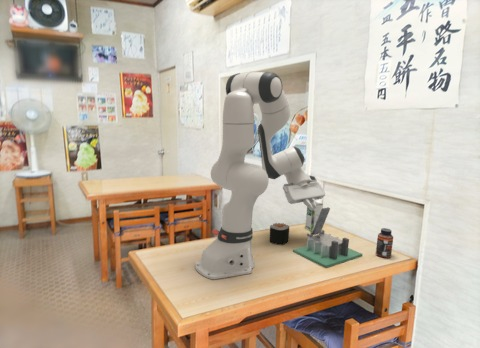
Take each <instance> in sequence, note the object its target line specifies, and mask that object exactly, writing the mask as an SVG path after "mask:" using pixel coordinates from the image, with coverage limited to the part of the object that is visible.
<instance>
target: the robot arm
mask: <svg viewBox="0 0 480 348" xmlns="http://www.w3.org/2000/svg"><path fill="white" fill-rule="evenodd" d="M282 81H283V80H282V79H281V77H280V76H279V75H278V74H277V73H275V72H271V71H264V72H263V71H262V72H261V71H249V72H247V71H246V72H242V73H240V72H239V73H235V74H233V75H231V76H229V77H228V79H227V81H226V82H225V83H226V84H225V93H226V96H225V97H224V98H225V99H224V102H223V110H222V144H221V145H222V146H221V149H220V153H219V157H218V158H217V161H216V162H215V163H214V164H213V165H212V167H211V170H210V178H211V180H212V182H213V183H214V184H216V185H217V186H218V187H220V188H222V189H225V190H229V191H231V195H230V196H231V197H230V199H229V201H228V202H227V203H225V204H224V205H223V207H222V209H221V210H222V214H221V227H220V229H217V228H213V230H212V235H215V236H217V238H215V240H213V241H212V242H211V243H210V244H209V245H208V246H206V247H205V248H204V249H203V250H202V253H201V259H200V260H199V261H196V262H195V263H194V267H195V268H194V269H195V270H196V271H197V272H198V273H199V274H200V275H201V276H203V277H205V278H207V279H210V280H218V279H224V278H231V277H236V276H242V275H243V276H244V275H248V274H252V272H253V270H252V269H253V268H254V267H255V261H254V257H253V249H252V240H253V232H254V231H253V227H252V224H253V211H254V206H255V204H256V202H257V200H258V198H259V197H260V196H261V195H262V194H264V193H265V192H266V190H267V189H268V187H269V179H271V180H277V179H279V178H280V177H281V176H283V175H284V177H285V178H286V182H287V183H284V184H283V185H282V190H283V192H284V195H285V198H286V200H287V203H289V204H290V205H293V204H299V203H303V204H304V206H306V208H307V207H308V208H309V209H310V210H312V209H316V208H317V206H316V205H315V200H317V201H319V200H321V199H323V198H324V197H325V196H326V192H325V190H324V188H323V186H322V185H321V184H320V182H318V178H317V177H316V176H315V175H310V174H308V173H306V172H305V171H304V170H303V168H302V167H303V165H304V164H305V160H306V159H305V156H304V154H303V152H302V151H301V150H300V148H299V147H297V146H290V147H287V148H284V149H283V150H281V151H279V152H277V153H275V154H272V147H271V146H272V145H271V141H272V140H273V137H274V136H276V134H277V133H278V132H279V131H281V130H282V129H284V127H285V126H286V125H287V124H288V121H289V119H290V117H291V110H290V106H289V102H288V99H287V98H288V97H287V95H286V93H285V90H284V89H283V82H282ZM255 104H256V105H257V104H258V106H259V109H260V112H261V121H260V123H259V125H258V126H257V134H258V136H257V137H258V141H259V149H260V156H261V157H260V158H261V167H260V166H258V165H255V164H253V163H252V164H251V163H246V162H245V158H246V155H247V153H248V151H249V150H251V149H252V148H253V147H254V143H255V115H254V113H255V112H254V105H255ZM308 201H309V202H310V203H311V204H310V203H309V202H308Z"/></svg>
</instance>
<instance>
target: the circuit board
mask: <svg viewBox="0 0 480 348" xmlns="http://www.w3.org/2000/svg"><path fill="white" fill-rule="evenodd" d="M306 246H307V245H305V246H304V245H303V246H300V247H297V248H294V249H292V252H293V253H295V254H297V255H299V256H301V257H302V258H305V259H307V260H308V261H311V262H312V263H315V264H316V265H318V266H321V267H322V268H325V269H327V268H331V267H333V266H336V265H339V264H343V263H346V262H349V261H352V260H355V259H358V258H361V257H363V253H361V252H359V251H356V250H354V249H352V248H349V247H348V256H343V255H338V256H337V259H335V260H334V259H332V258H327V257H321V255H320V254H318V253H315V254H314V253H313V251H312V250H306Z"/></svg>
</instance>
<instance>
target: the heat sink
mask: <svg viewBox="0 0 480 348" xmlns="http://www.w3.org/2000/svg"><path fill="white" fill-rule="evenodd" d="M332 241H337V242H338V251H337V256H338V255H341V250H342V239H340V238H339V236H336V237H335V236H333V235H332V234H330V233H329V234H328V233H326V232H325V230H323V229H322V230H321V232H320V234H316V235H313V233H312V232H310V233H307V239H306V245H305V246H306V250H312V251H313V253H314V254H315V253H318V254H320V255H321V257H327V258H330V255H331V243H332Z"/></svg>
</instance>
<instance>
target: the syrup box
mask: <svg viewBox="0 0 480 348" xmlns="http://www.w3.org/2000/svg"><path fill="white" fill-rule="evenodd" d="M308 202H309V201H308ZM309 203H310V202H309ZM310 204H311V203H310ZM315 205H316V206H317V208H316V209H312V210H310V209H309V208H308V207H307V206H306V216H305V226H304V227H305V229H306V230H308V231H309V232H310V231H311V233H312V232H313V230H314V227H315V225H316V222H317V220H318V217H319V215H320V212H321V210H322V208H324V202H321V201H319V200H315Z"/></svg>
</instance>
